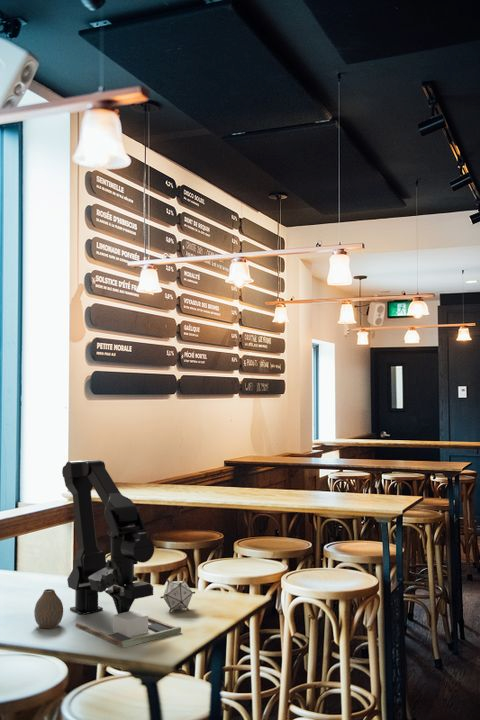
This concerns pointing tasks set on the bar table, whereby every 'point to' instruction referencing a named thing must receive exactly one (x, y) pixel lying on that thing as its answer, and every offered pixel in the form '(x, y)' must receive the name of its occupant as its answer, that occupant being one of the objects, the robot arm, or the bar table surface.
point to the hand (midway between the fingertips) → (122, 620)
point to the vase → (48, 610)
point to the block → (130, 623)
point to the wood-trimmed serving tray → (136, 640)
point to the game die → (177, 595)
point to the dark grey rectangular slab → (153, 627)
